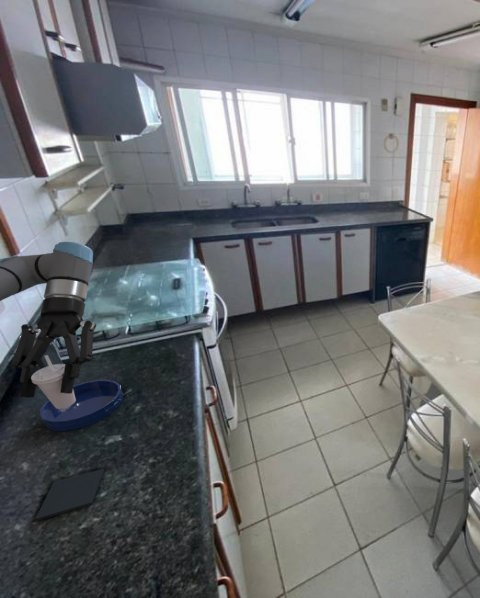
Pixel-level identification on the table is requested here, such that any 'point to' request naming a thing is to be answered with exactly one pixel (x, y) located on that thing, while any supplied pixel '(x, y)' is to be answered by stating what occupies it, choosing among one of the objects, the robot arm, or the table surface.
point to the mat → (70, 494)
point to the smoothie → (53, 384)
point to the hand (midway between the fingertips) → (47, 394)
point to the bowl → (84, 406)
